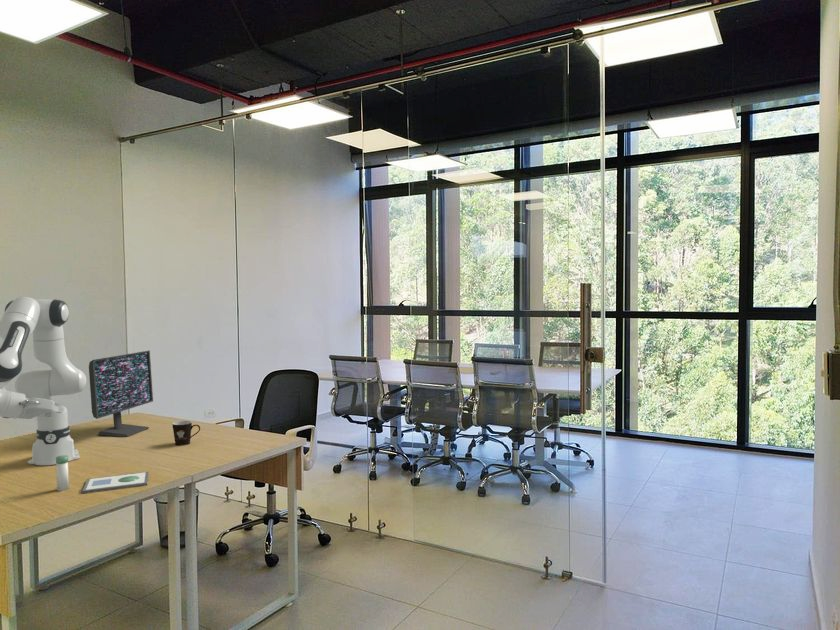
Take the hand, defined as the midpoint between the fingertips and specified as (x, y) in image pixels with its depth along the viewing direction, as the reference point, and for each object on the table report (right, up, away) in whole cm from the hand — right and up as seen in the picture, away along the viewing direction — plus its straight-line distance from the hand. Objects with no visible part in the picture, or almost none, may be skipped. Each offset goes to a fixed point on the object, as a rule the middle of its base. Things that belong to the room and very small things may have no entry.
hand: (57, 412), depth 210 cm
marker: (+2, -28, 0) cm, 28 cm away
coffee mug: (+22, -25, +61) cm, 70 cm away
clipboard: (+19, -27, +6) cm, 34 cm away
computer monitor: (-19, -25, +85) cm, 91 cm away
